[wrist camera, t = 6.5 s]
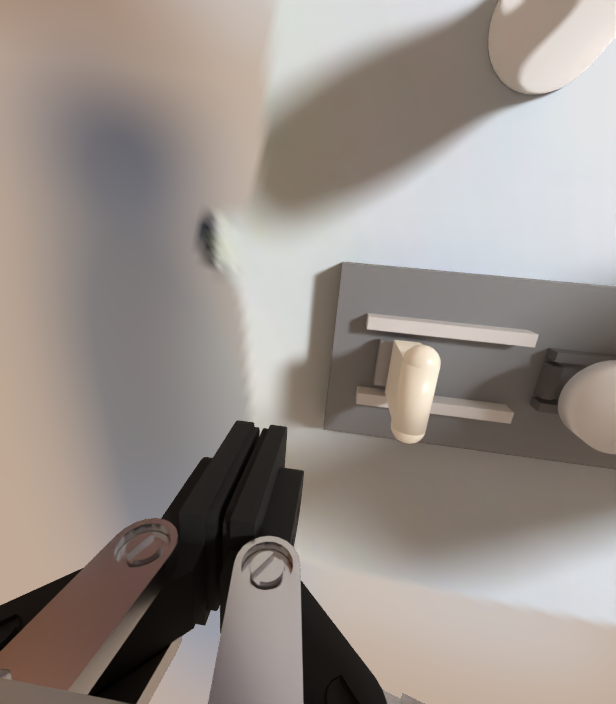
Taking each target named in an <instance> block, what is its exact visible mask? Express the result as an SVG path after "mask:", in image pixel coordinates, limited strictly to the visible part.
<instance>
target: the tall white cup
mask: <svg viewBox="0 0 616 704" xmlns="http://www.w3.org/2000/svg"><path fill="white" fill-rule="evenodd" d="M615 38H616V0H499V1H498V3H497V5H496V7H495V10H494V13H493V16H492V19H491V23H490V28H489V35H488V50H489V56H490V61H491V64H492V66H493V69H494V71H495V73H496V74H497V76H498V77H499V78H500V80H501V81H502V82H503V83H504V84H505V85H507V86H508V87H509V88H511V89H513V90H515V91H517V92H520V93H523V94H531V95H537V94H544V93H548V92H552V91H555V90H557V89H560V88H562V87H564V86H565V85H567V84H569V83H570V82H572V81H573V80H575V79H576V78H577V77H579V76H580V75H581V74H582V73H583V72H584V71H585V70H587V69H588V68H589V66H590V65H591V64H592V63H593V62H594V61H595V60H596V59H597V58H598V57H599V56H600V54H601V53H602V52H603V51H604V50H605V49H606V48H607V46H608V45H609V44H610V43H611V42H612V41H613V40H614V39H615Z"/></svg>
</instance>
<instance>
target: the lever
mask: <svg viewBox="0 0 616 704" xmlns="http://www.w3.org/2000/svg"><path fill="white" fill-rule="evenodd" d="M440 365H441V360H440V357H439V355H438V353H437V352H436V350H435V349H433V348H432V347H430V346H429V345H428V344H427V343H420V342H411V341H402V340H393V339H384V338H380V341H379V347H378V354H377V360H376V366H375V373H374V379H373V381H374V385H380V386H386V389H385V395H386V399H387V403H388V407H389V411H390V415H391V430H392V433H393V435H394V436H395V437H396V438H397V439H398V440H399V441H401V442H403V443H407V444H412V443H416V442H418V441H420V440H421V439H422V438H423V436H424V435H425V432H426V428H427V424H428V419H429V415H430V410H431V406H432V401H433V397H434V392H435V388H436V384H437V379H438V375H439V370H440Z"/></svg>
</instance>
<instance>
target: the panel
mask: <svg viewBox="0 0 616 704" xmlns="http://www.w3.org/2000/svg"><path fill="white" fill-rule="evenodd" d="M380 338H384V339H393V340H402V341H411V342H420V343H427V344H428V345H429V346H430V347H432V348H433V349H435V350H436V352H437V353H438V355H439V357H440V360H441V365H440V370H439V375H438V379H437V384H436V388H435V392H434V397H433V401H432V406H431V410H430V415H429V419H428V424H427V428H426V432H425V435H424V436H423V438H422V439H421V440H420V441H418V442H420V443H427V444H435V445H442V446H449V447H457V448H464V449H471V450H479V451H486V452H493V453H501V454H508V455H515V456H522V457H530V458H537V459H544V460H552V461H559V462H566V463H574V464H581V465H588V466H596V467H603V468H610V469H616V454H608V453H604V452H601V451H598V450H596V449H594V448H592V447H591V446H589V445H588V444H587V443H585V442H584V441H583V440H582V439H580V438H579V437H578V436H577V435H575V434H574V433H573V432H572V431H571V430H569V429H568V428H567V427H566V426H565V425H564V424H563V422H562V420H561V419H560V416H559V413H558V400H559V396H560V394H561V391H562V389H563V388H564V386H565V385H566V383H567V382H568V381H569V380H570V379H571V378H572V377H573V376H574V375H575V374H576V373H578V372H579V371H581V370H582V369H584V368H586V367H588V366H590V365H593V364H595V363H599V362H603V361H609V360H616V287H613V286H602V285H591V284H580V283H569V282H558V281H548V280H537V279H526V278H515V277H504V276H493V275H482V274H471V273H460V272H449V271H438V270H428V269H417V268H406V267H395V266H384V265H373V264H362V263H351V262H343V263H342V271H341V280H340V288H339V297H338V306H337V315H336V324H335V333H334V341H333V350H332V359H331V368H330V377H329V386H328V395H327V403H326V412H325V421H324V429H325V430H332V431H340V432H347V433H354V434H362V435H369V436H376V437H384V438H391V439H397V438H396V437H395V436H394V435H393V433H392V430H391V415H390V411H389V407H388V403H387V399H386V395H385V389H386V386H380V385H374V381H373V379H374V373H375V366H376V360H377V354H378V347H379V341H380Z"/></svg>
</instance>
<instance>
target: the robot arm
mask: <svg viewBox="0 0 616 704" xmlns="http://www.w3.org/2000/svg"><path fill="white" fill-rule="evenodd" d="M259 433H260V430H259V428H257V427H254V423H253V422H246V421H236V422H235V424H234V425H233V427H232V428H231V430H230V432H229V433H228V435H227V437H226V438H225V440H224V441H223V443H222V444H221V446H220V448H219V449H218V451H217V452H216V454H215V456H214V457H213V458H209V457H204V458H203V459H202V460H201V461H200V462H199V464H198V465H197V467H196V468H195V470H194V471H193V473H192V474H191V475H190V477H189V478H188V480H187V481H186V483H185V484H184V486H183V487H182V489H181V490H180V492H179V493H178V495H177V496H176V497H175V499H174V501H173V502H172V503H171V505H170V506H169V508H168V509H167V511H166V512H165V514H164V515H163V517H162V518H161V519H158V518H153V519H145V520H142V521H138V522H136V523H133V524H132V525H130V526H128V527H126V528H125V529H123V530H122V531H121V532H120V533H119V534H117V535H116V536H115V537H114V538H113V539H112V540H111V541H110V542H109V543H108V544H107V545H106V546H105V547H104V548H103V549H102V550H101V551H100V552H99V553H98V554H97V555H96V556H95V557H94V558H93V559H92V560H91V561H90V562H89V563H88V564H87V565H86V566H85V567H84V568H82V569H80V570H78V571H75V572H73V573H71V574H69V575H67V576H64V577H62V578H60V579H58V580H56V581H54V582H51V583H49V584H47V585H45V586H42V587H40V588H38V589H36V590H33V591H31V592H29V593H27V594H25V595H22V596H20V597H18V598H16V599H14V600H11V601H9V602H7V603H5V604H3V605H0V704H148V703H149V701H150V700H151V697H152V696H153V694H154V692H155V690H156V689H157V687H158V685H159V683H160V681H161V679H162V678H163V676H164V674H165V672H166V671H167V669H168V667H169V665H170V663H171V661H172V660H173V658H174V656H175V654H176V652H177V650H178V648H179V645H180V643H181V641H182V635H184V634H185V633H187V632H188V631H190V630H191V629H193V628H194V626H195V624H200V625H205V624H206V622H207V619H208V616H209V613H210V611H211V610H214V611H217V610H218V608H219V606H220V633H221V636H220V641H219V647H218V652H217V658H216V663H215V668H214V674H213V679H212V684H211V690H210V695H209V701H208V704H424V703H422V702H420V701H418V700H416V699H414V698H411V697H410V696H408V695H406V694H402V697H401V699H400V698H398V697H396V696H394V695H392V694H390V693H388V692H386V691H384V690H382V688H381V687H380V685H379V683H378V681H377V680H376V678H375V676H374V675H373V674H372V673H371V671H370V670H369V669H368V667H367V666H366V665H365V663H364V662H363V661H362V660H361V658H360V657H359V656H358V654H357V653H356V652H355V651H354V649H353V648H352V647H351V646H350V644H349V643H348V641H347V640H346V639H345V637H344V636H343V635H342V633H341V632H340V631H339V629H338V628H337V627H336V625H335V624H334V623H333V622H332V620H331V619H330V618H329V616H328V615H327V614H326V612H325V611H324V610H323V609H322V607H321V606H320V605H319V603H318V602H317V601H316V599H315V598H314V597H313V596H312V594H311V593H310V592H309V590H308V589H307V588H306V586H305V585H304V584H303V582H302V581H301V578H300V577H301V576H300V561H299V556H298V554H297V552H296V550H295V548H294V542H295V536H296V531H297V525H298V519H299V512H300V505H301V496H302V487H303V476H304V471H302V470H295V469H287V468H284V467H285V454H286V440H287V427H284V426H276V425H270V427H269V429H265V428H264V429H263V430H262V432H261V435H260V437H259Z"/></svg>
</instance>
